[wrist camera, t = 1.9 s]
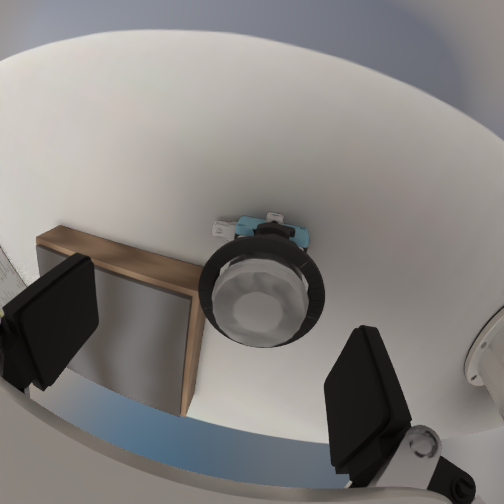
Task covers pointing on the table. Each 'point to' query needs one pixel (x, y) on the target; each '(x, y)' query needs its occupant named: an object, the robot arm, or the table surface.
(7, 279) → the light bulb box
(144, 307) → the walnut stand
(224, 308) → the push button
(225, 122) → the table surface
